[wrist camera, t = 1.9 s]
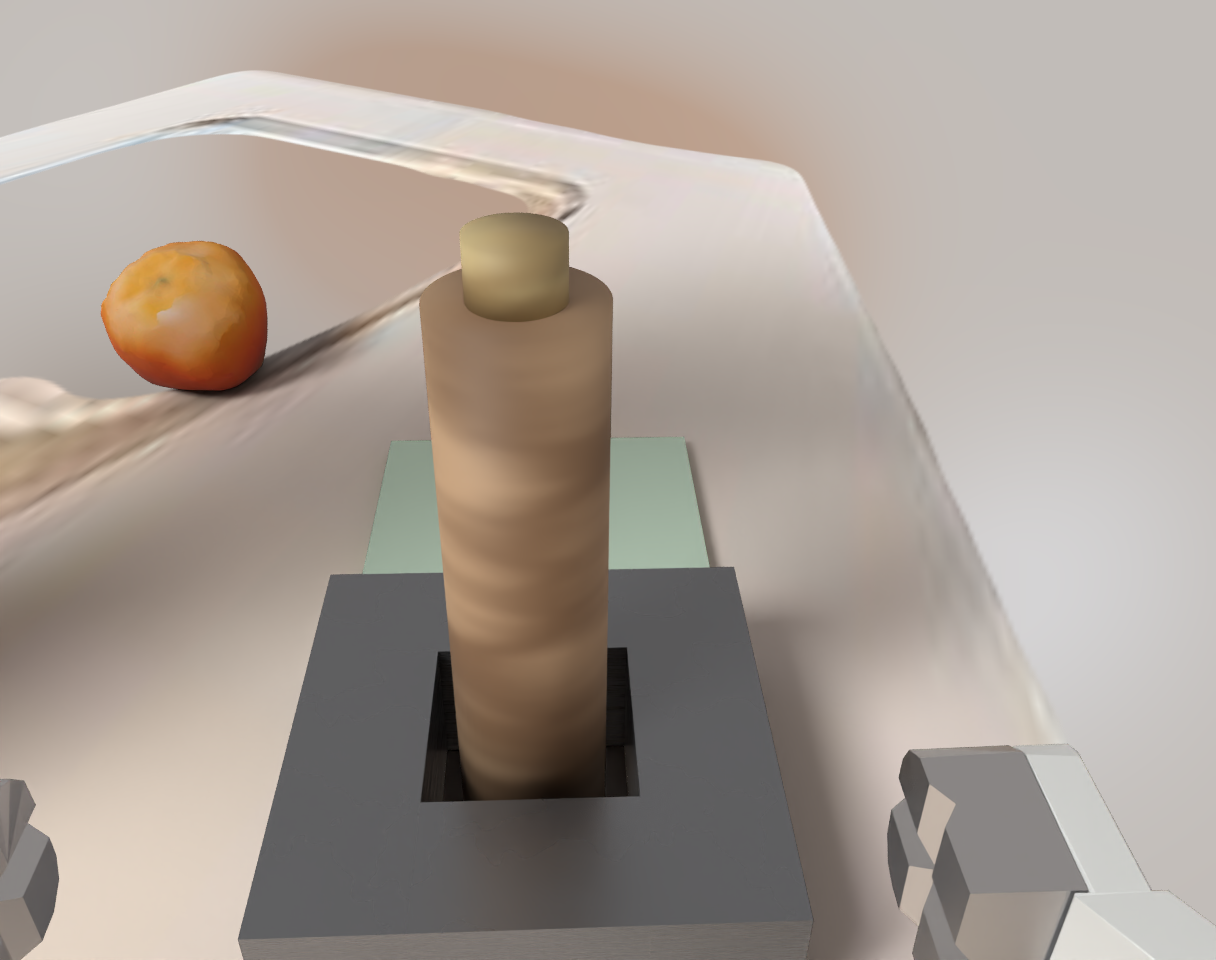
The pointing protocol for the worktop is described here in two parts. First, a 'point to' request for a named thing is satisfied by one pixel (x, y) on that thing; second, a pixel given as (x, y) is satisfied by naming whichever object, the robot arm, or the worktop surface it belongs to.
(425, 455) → the mat
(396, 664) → the housing
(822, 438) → the worktop surface
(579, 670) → the bottle
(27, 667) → the worktop surface
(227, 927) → the worktop surface
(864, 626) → the worktop surface
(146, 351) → the fruit
